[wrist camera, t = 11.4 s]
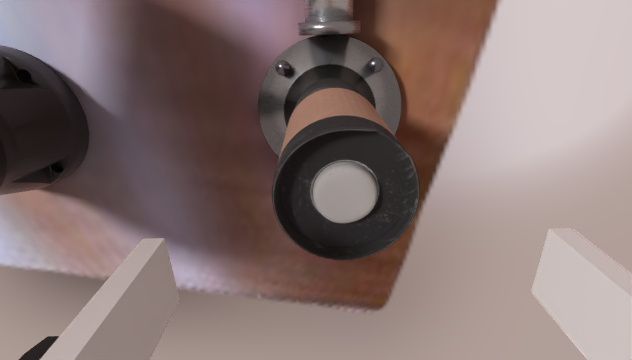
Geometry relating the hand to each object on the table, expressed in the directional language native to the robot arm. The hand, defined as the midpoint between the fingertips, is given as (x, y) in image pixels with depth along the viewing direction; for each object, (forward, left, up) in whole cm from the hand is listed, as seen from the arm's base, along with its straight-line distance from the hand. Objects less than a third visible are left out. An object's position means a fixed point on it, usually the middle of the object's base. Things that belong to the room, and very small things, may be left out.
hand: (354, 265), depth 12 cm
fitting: (0, +3, -27) cm, 27 cm away
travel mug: (0, 0, -26) cm, 26 cm away
